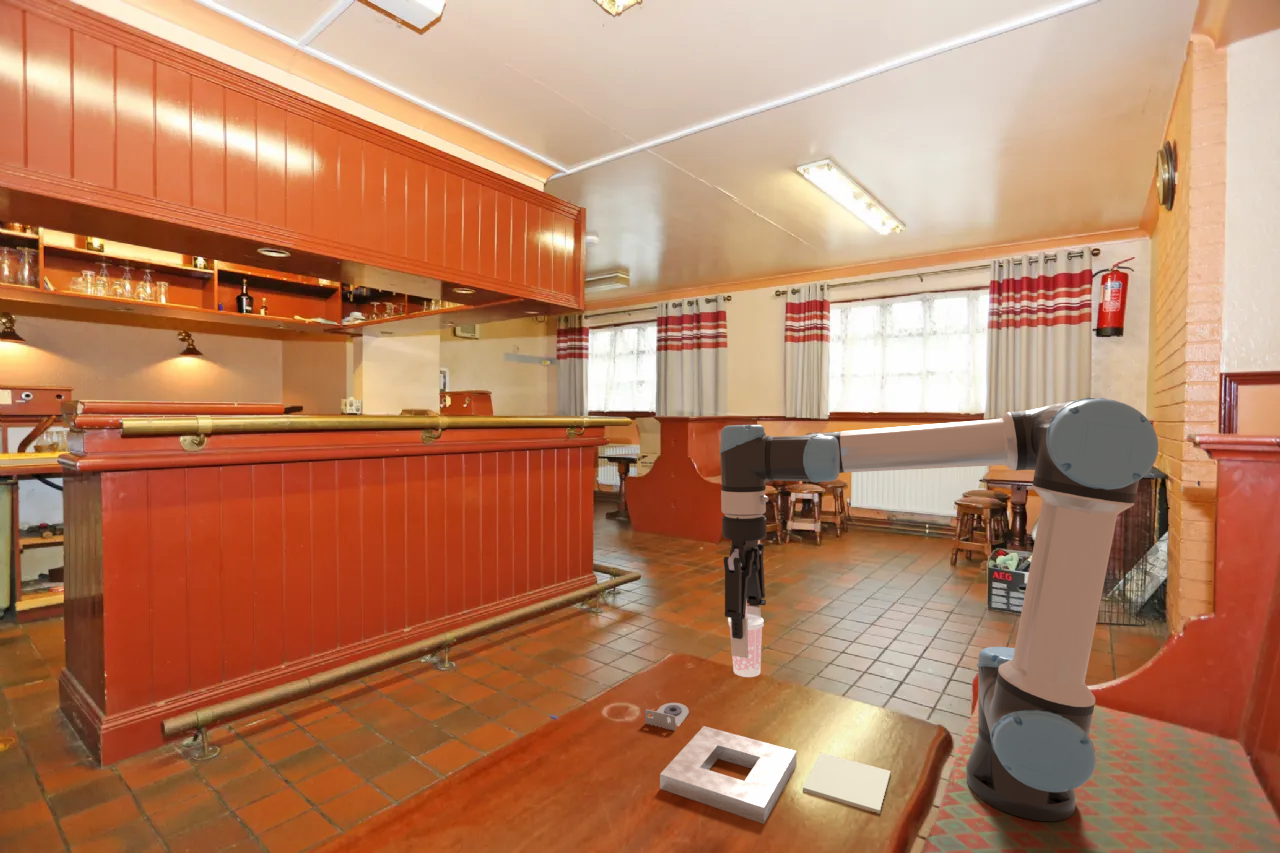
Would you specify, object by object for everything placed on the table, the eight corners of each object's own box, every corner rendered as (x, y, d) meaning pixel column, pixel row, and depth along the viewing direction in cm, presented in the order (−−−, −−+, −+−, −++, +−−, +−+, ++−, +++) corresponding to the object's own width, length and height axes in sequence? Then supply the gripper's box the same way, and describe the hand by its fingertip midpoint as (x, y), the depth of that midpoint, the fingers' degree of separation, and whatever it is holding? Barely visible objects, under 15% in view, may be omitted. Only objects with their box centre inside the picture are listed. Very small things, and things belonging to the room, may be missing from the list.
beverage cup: (752, 661, 108) (750, 583, 108) (772, 675, 102) (770, 592, 102) (722, 668, 105) (720, 588, 105) (741, 681, 100) (739, 597, 100)
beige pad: (890, 774, 105) (890, 771, 105) (879, 814, 94) (879, 810, 94) (820, 755, 111) (820, 752, 111) (802, 791, 100) (802, 787, 100)
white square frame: (796, 764, 108) (796, 750, 108) (764, 824, 92) (764, 807, 92) (703, 738, 117) (703, 726, 117) (660, 788, 101) (659, 773, 101)
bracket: (693, 710, 129) (693, 694, 129) (674, 733, 120) (674, 716, 120) (665, 704, 132) (665, 689, 132) (645, 726, 123) (644, 709, 123)
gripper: (745, 525, 93) (749, 674, 94) (781, 508, 110) (784, 634, 110) (701, 522, 97) (704, 665, 97) (742, 506, 114) (745, 628, 114)
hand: (746, 648), depth 104 cm, fingers closed on beverage cup, 6 cm apart
